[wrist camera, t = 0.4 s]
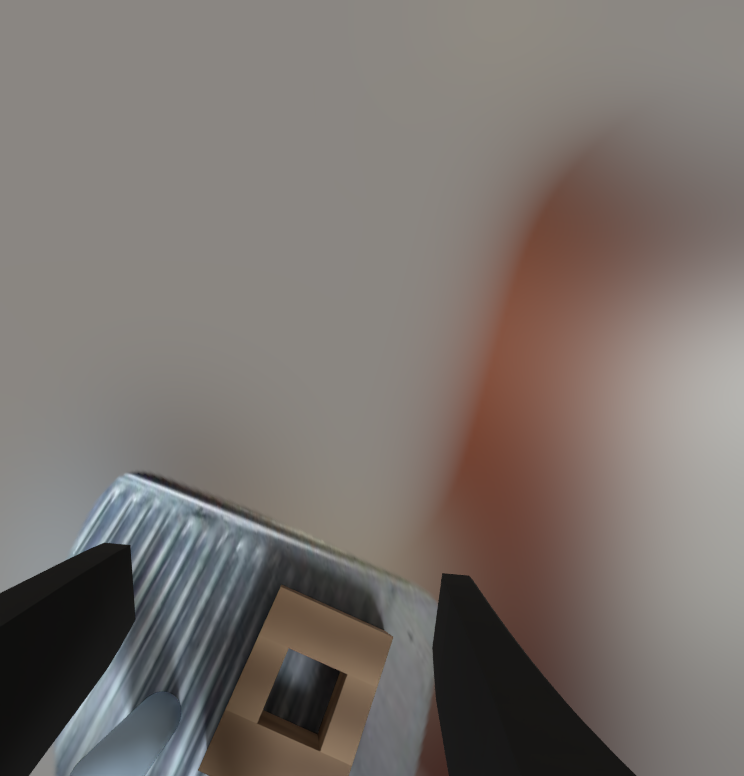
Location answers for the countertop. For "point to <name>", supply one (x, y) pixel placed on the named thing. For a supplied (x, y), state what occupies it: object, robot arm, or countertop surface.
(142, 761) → the dowel
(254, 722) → the hole block
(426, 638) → the countertop surface
